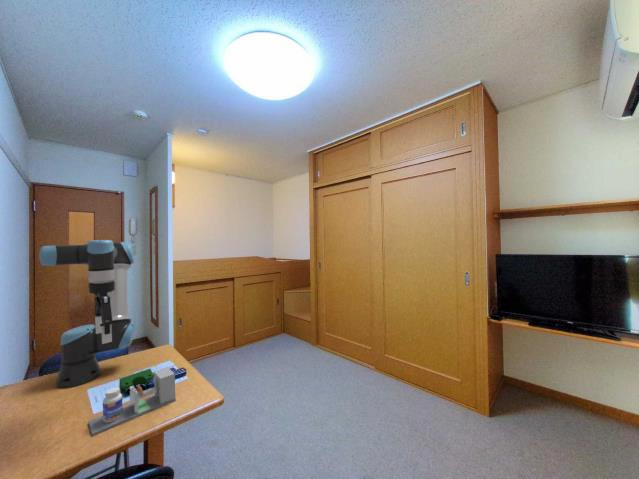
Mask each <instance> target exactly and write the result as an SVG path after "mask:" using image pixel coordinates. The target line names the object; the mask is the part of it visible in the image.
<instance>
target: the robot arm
mask: <svg viewBox="0 0 639 479" xmlns="http://www.w3.org/2000/svg"><path fill="white" fill-rule="evenodd" d="M133 253H134V252H133V248H132V244H131V243H130V242H127V241H117V242H116V241H115V242H114V241H113V240H112V239H111V240H110V239H97V240H95V239H93V240H89V241H88V242H87V243H84V244H82V243H81V244H73V245H72V244H63V245H61V244H60V245H59V244H58V245H56V244H52V245H44V246H42V247H41V248H40V250H39V256H38V259H39V262H40V264H41V265H42V266H46V267H47V266H48V267H50V266H51V267H55V266H71V265H85V266H87V268H88V269H87V270H88V273H86V275H85V276H86V277H88V282H89V283H88V293H89V294H91V295H92V294H94V310H93V311H94V312H93V313H94V317H95V323H94V324H85V325H80V326H77V327H74V328H70V329H68V330H67V331H64V332H63V333H62V335H61V336H60V344H59V345H60V363H61V367H60V369H59V372H58V374H57V377H56V379H55V380H56V381H55V383H56V384H55V385H56V387H57V388H59V389H60V388H61V389H63V388H73V387H77V386H81V385H84V384H86V383H89V382H93V381H94V380H95V379H97V378H98V377H99V376H100V375H101V373H102V372H101V371H102V368H101V366H100V364H99V362H98V360H97V358H96V354H99V353H105V352H110V351H114V350H120V349H124V348H128V347H130V346H131V344H132V342H133V338H134V330H135V322H134V321H132V319H131V317H130V316H128V271H129V269H130V268H131V265H132V264H134V263H135V260H134V259H135V258H134V254H133Z"/></svg>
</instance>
